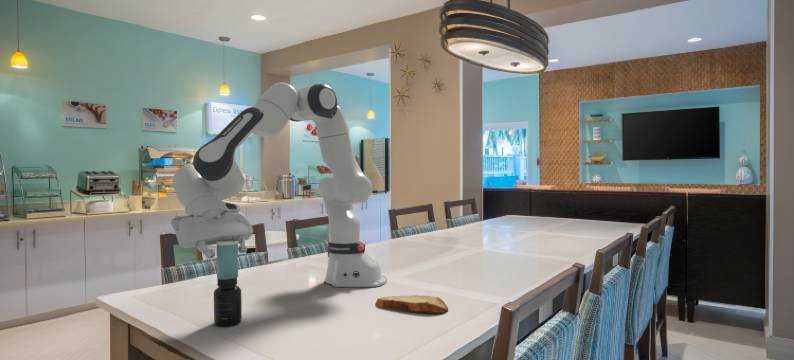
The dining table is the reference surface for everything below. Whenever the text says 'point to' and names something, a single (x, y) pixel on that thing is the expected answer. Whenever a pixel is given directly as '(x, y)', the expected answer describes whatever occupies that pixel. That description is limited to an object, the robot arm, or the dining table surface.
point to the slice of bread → (413, 304)
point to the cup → (227, 259)
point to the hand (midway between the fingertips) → (228, 254)
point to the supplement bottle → (227, 303)
